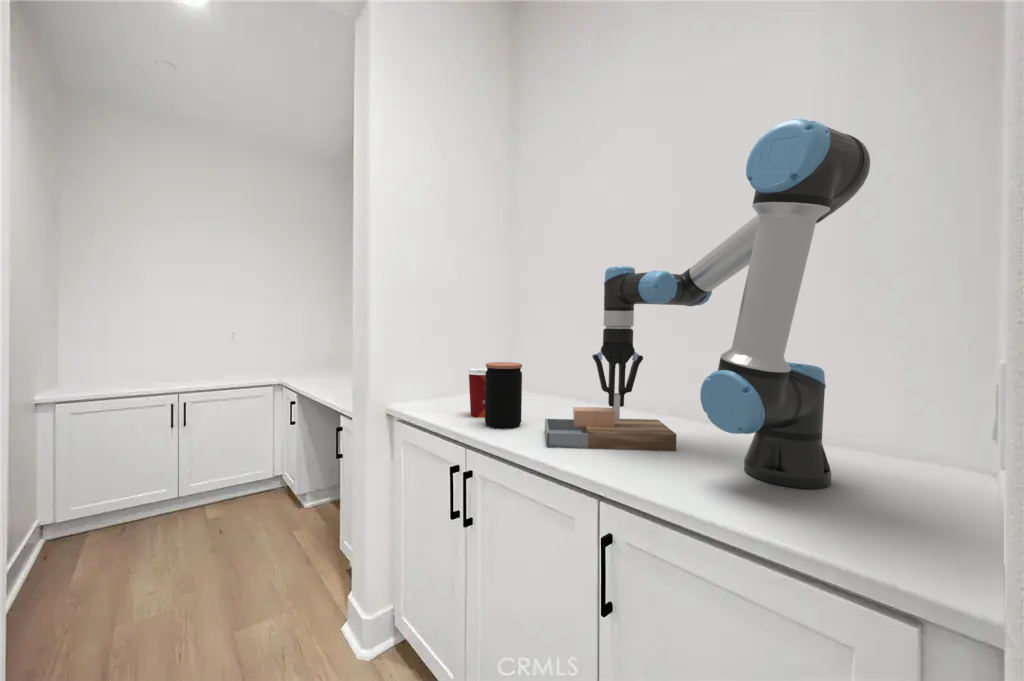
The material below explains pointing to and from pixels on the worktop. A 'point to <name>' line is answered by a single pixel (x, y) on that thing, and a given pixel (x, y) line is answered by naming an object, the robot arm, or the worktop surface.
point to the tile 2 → (604, 417)
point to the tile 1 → (583, 417)
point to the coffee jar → (503, 394)
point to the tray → (564, 434)
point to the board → (632, 435)
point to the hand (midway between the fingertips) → (615, 418)
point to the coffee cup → (477, 391)
